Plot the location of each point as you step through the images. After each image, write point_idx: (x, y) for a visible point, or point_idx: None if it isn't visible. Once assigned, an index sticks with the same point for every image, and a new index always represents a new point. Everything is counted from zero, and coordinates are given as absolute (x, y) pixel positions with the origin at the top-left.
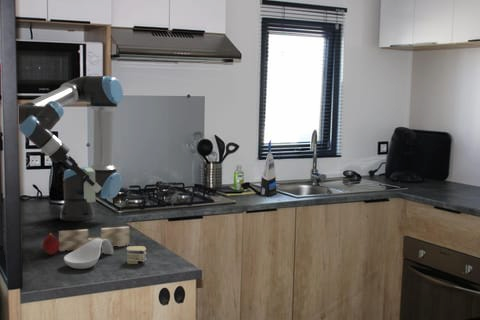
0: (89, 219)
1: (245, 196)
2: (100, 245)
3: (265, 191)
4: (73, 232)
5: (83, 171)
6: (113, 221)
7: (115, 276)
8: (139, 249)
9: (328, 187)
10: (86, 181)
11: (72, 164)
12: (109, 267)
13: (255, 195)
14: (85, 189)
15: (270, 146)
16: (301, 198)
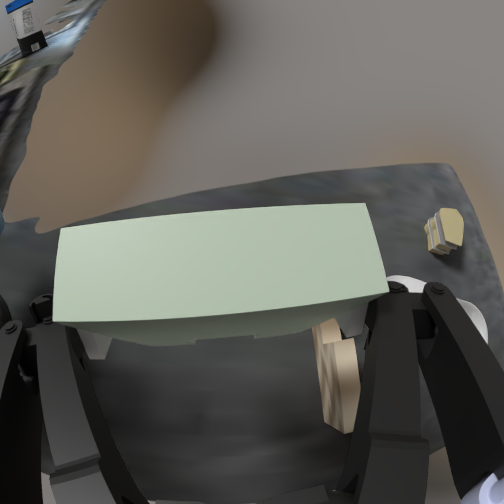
0: (6, 306)
1: (27, 63)
2: (457, 299)
3: (40, 43)
4: (358, 385)
5: (472, 325)
6: (35, 248)
7: (490, 280)
8: (458, 221)
9: (55, 19)
10: (361, 320)
11: (487, 470)
12: (460, 289)
13: (31, 56)
14: (217, 337)
15: (10, 9)
16: (79, 24)
